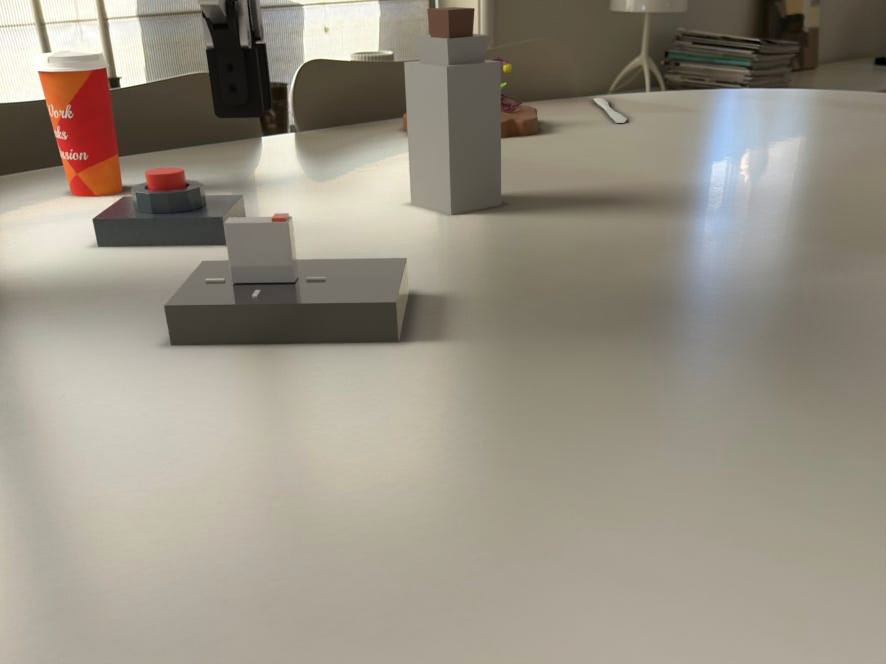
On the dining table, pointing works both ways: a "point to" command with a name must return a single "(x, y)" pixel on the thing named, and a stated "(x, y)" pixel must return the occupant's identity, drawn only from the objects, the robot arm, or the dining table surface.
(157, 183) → the power button
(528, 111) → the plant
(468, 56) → the perfume bottle
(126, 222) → the switch block
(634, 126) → the dining table surface
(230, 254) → the white block red tab
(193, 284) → the dark grey base block
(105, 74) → the paper cup
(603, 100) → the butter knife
